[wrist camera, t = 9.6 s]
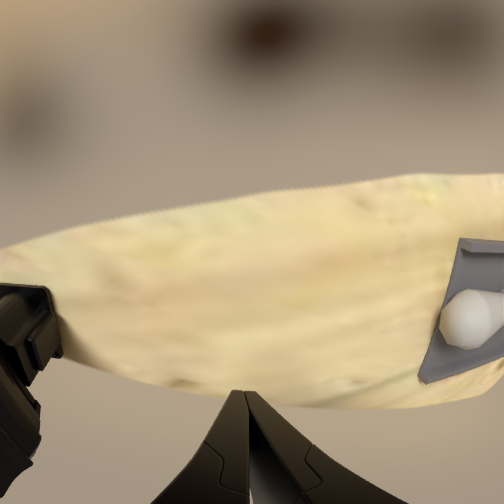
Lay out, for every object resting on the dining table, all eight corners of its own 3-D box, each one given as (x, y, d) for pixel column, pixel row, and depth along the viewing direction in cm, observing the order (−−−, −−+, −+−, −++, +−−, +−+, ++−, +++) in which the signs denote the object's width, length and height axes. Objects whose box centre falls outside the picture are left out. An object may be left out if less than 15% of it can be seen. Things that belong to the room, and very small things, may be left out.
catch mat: (417, 375, 28) (425, 384, 27) (459, 237, 24) (472, 243, 22) (504, 346, 31) (511, 352, 30) (537, 244, 27) (546, 248, 25)
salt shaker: (482, 350, 19) (537, 321, 22) (471, 284, 21) (527, 272, 24) (437, 358, 24) (501, 331, 27) (428, 301, 26) (492, 287, 29)
